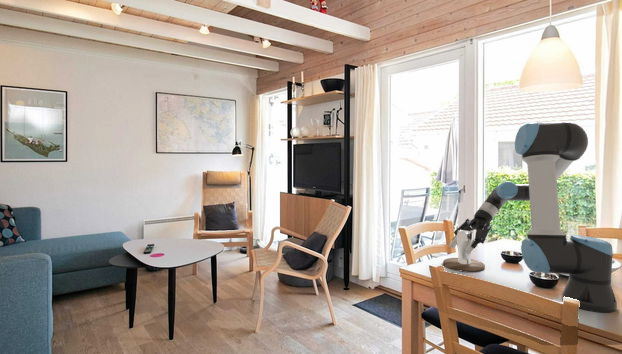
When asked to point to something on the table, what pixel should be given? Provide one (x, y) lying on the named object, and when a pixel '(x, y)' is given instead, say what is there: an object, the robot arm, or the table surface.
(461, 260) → the beer glass
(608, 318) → the table surface
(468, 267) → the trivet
